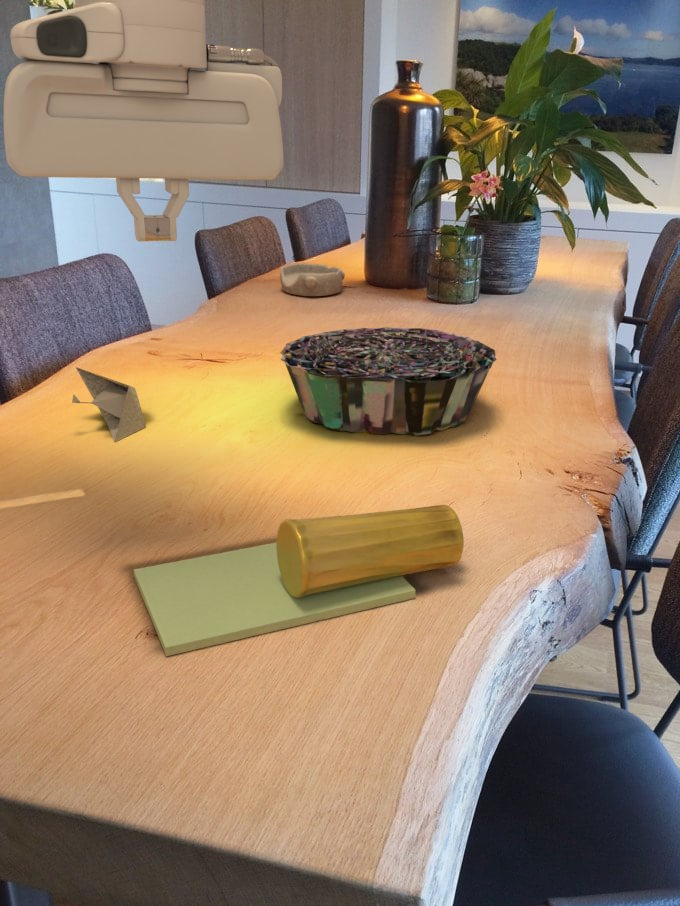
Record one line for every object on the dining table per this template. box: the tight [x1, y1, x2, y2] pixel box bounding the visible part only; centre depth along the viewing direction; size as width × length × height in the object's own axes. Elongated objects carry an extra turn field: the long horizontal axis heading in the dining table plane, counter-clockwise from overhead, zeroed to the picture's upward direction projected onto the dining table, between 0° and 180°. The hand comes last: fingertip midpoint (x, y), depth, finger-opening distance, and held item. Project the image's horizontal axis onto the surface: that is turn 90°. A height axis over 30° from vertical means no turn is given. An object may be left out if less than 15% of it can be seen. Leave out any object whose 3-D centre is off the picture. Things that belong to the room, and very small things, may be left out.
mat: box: [133, 541, 417, 657], centre depth 67 cm, size 20×12×1 cm, turn 115°
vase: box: [275, 504, 465, 598], centre depth 67 cm, size 6×6×14 cm
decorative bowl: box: [279, 326, 497, 437], centre depth 106 cm, size 26×28×10 cm
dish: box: [279, 262, 346, 297], centre depth 178 cm, size 14×14×5 cm
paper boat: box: [71, 366, 146, 443], centre depth 99 cm, size 12×6×9 cm
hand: (156, 240), depth 65 cm, fingers closed
